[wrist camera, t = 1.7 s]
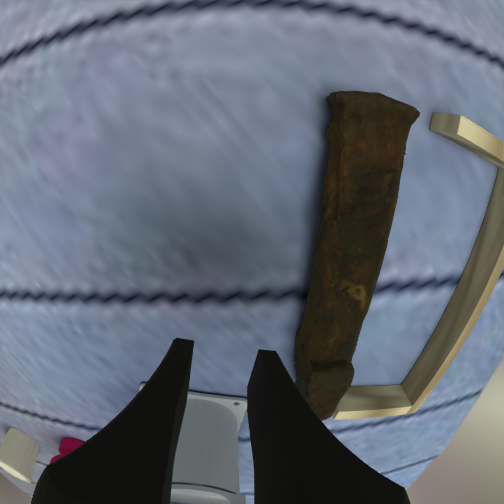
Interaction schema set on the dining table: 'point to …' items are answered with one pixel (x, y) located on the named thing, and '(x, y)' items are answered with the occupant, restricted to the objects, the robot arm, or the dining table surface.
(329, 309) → the hand tool
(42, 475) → the robot arm
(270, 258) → the dining table surface
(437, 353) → the beige bent bracket
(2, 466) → the cream cylinder
